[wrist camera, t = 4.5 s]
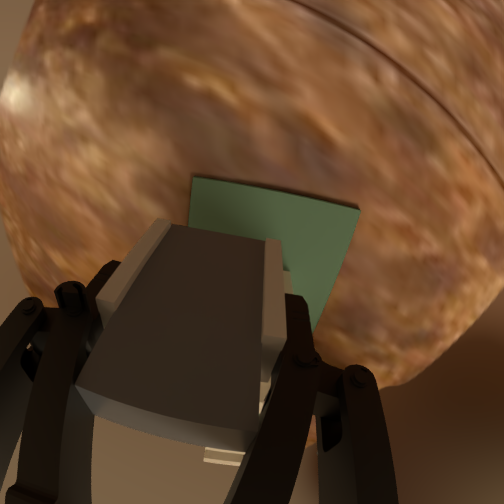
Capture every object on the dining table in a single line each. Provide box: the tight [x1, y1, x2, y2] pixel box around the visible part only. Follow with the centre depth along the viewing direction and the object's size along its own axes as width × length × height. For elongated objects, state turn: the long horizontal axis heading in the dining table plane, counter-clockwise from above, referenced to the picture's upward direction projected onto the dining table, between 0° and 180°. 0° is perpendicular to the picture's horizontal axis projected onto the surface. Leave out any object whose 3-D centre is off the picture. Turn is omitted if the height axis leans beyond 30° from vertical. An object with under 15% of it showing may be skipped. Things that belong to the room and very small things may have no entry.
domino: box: [204, 449, 243, 466], centre depth 32 cm, size 2×5×10 cm, turn 80°
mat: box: [188, 176, 361, 415], centre depth 31 cm, size 40×14×1 cm, turn 170°
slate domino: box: [74, 224, 265, 452], centre depth 10 cm, size 2×5×10 cm, turn 80°
